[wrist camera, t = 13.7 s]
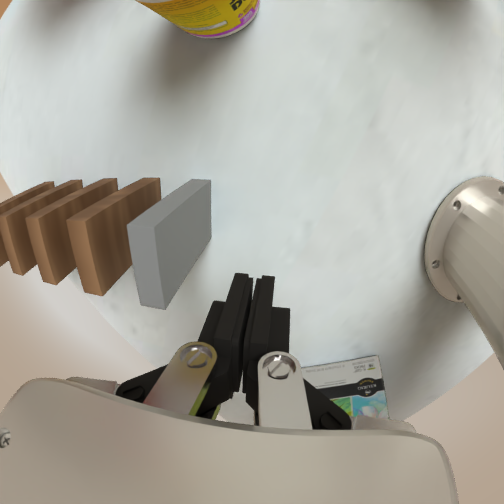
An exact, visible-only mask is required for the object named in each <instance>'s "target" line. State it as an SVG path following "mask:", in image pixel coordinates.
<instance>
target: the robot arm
mask: <svg viewBox="0 0 504 504" xmlns="http://www.w3.org/2000/svg"><path fill="white" fill-rule="evenodd" d="M425 266H426V271H427V274H428V277H429V280H430V281H431V283H432V284H433V286H434V288H435V289H436V290H437V291H438V293H439V294H440V295H441V296H443V297H444V298H446V299H447V300H450V301H453V302H461V303H465V305H466V306H467V308H468V309H469V311H470V312H471V314H472V315H473V317H474V318H475V320H476V322H477V323H478V325H479V326H480V328H481V330H482V331H483V333H484V335H485V336H486V338H487V340H488V342H489V343H490V345H491V347H492V349H493V351H494V352H495V354H496V356H497V358H498V360H499V362H500V363H501V365H502V367H503V369H504V182H502V181H500V180H498V179H495V178H493V177H486V176H481V177H475V178H472V179H470V180H467V181H465V182H463V183H462V184H461V185H459V186H458V187H456V188H455V189H454V190H453V191H452V192H451V193H450V194H449V195H448V196H447V197H446V198H445V200H444V201H443V203H442V204H441V205H440V207H439V208H438V210H437V212H436V214H435V216H434V218H433V220H432V222H431V225H430V228H429V231H428V234H427V239H426V244H425ZM274 281H275V277H274V276H264V275H262V279H259V278H257V280H256V285H255V289H254V294H253V299H252V292H253V278H249V276H248V274H243V273H235V275H234V278H233V281H232V284H231V287H230V290H229V293H228V296H227V299H226V302H222V301H213V303H212V306H211V308H210V311H209V313H208V316H207V318H206V321H205V324H204V326H203V329H202V331H201V334H200V337H199V339H198V342H190V343H187V344H185V345H183V346H181V347H180V348H179V349H178V350H177V352H176V353H175V355H174V356H173V358H172V360H171V361H170V363H169V364H167V365H165V366H163V367H160V368H158V369H156V370H153V371H150V372H148V373H145V374H143V375H141V376H138V377H135V378H133V379H130V380H128V381H126V382H124V383H122V384H117V382H116V381H106V380H97V379H89V378H81V377H70V378H68V379H66V380H64V379H57V378H37V379H32V380H30V381H28V382H26V383H25V384H23V385H22V386H21V387H20V388H19V389H18V390H17V392H16V393H15V394H14V395H13V397H12V398H11V399H10V400H9V402H8V403H7V404H6V406H5V407H4V409H3V411H2V412H1V413H0V504H459V501H458V494H457V489H456V484H455V478H454V474H453V471H452V467H451V464H450V461H449V458H448V456H447V454H446V452H445V450H444V449H443V447H442V446H441V445H440V444H439V443H438V442H437V441H436V440H434V439H432V438H430V437H427V436H425V435H421V434H418V433H416V430H415V429H414V427H413V426H412V425H411V424H409V423H408V422H404V421H398V420H389V419H382V418H375V417H368V416H362V415H357V416H356V417H353V416H349V415H348V414H347V413H346V412H345V411H344V410H343V409H342V408H340V407H339V406H338V405H337V404H335V403H334V402H333V401H331V400H330V399H329V398H328V397H326V396H325V395H324V394H323V393H321V392H320V391H319V390H318V389H316V388H315V387H314V386H313V385H311V384H310V383H309V382H308V381H307V380H305V379H304V378H303V376H302V371H301V366H300V363H299V361H298V360H297V359H296V358H295V357H294V356H292V355H291V354H289V333H290V308H280V307H272V302H273V291H274ZM242 372H243V391H242V392H243V393H246V402H247V403H248V405H249V406H250V407H251V408H252V409H253V410H254V425H245V424H238V423H230V422H224V421H218V420H215V419H216V417H217V415H218V412H219V410H220V407H221V403H223V402H225V401H227V400H229V398H230V399H232V397H233V392H239V387H240V382H241V377H242Z"/></svg>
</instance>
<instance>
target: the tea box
mask: <svg viewBox="0 0 504 504" xmlns="http://www.w3.org/2000/svg"><path fill="white" fill-rule="evenodd" d="M301 371H302V376H303V378H304V379H305V380H307V381H308V382H309V383H310V384H311V385H313V386H314V387H315V388H316V389H318V390H319V391H320V392H321V393H323V394H324V395H325V396H326V397H328V398H329V399H330V400H331V401H333V402H334V403H335V404H337V405H338V406H339V407H340V408H342V409H343V410H344V411H345V412H346V413H347V414H348V415H349V416H353V417H356V416H357V415H362V416H368V417H375V418H382V419H389V414H388V408H387V400H386V393H385V387H384V381H383V376H382V370H381V366H380V361H379V356H378V355H376V356H371V357H365V358H360V359H354V360H349V361H343V362H337V363H332V364H325V365H319V366H312V367H306V368H301Z"/></svg>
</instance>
